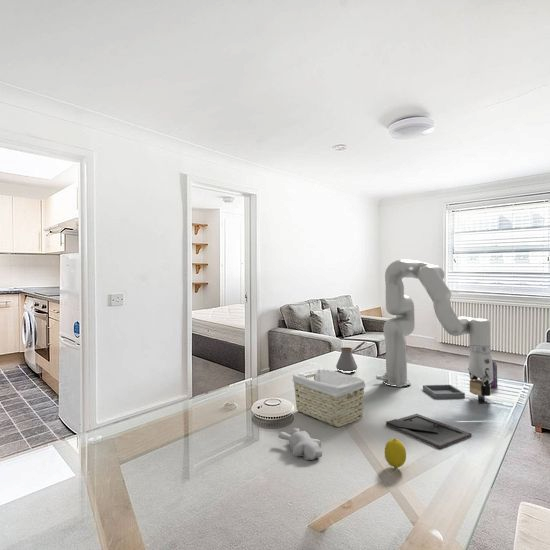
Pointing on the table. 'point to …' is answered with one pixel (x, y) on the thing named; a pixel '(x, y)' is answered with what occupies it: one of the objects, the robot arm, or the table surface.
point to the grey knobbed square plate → (481, 400)
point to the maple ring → (476, 387)
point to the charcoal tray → (443, 391)
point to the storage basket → (329, 396)
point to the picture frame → (428, 430)
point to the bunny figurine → (303, 444)
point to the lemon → (395, 453)
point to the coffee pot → (347, 359)
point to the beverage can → (494, 375)
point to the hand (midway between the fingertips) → (480, 392)
